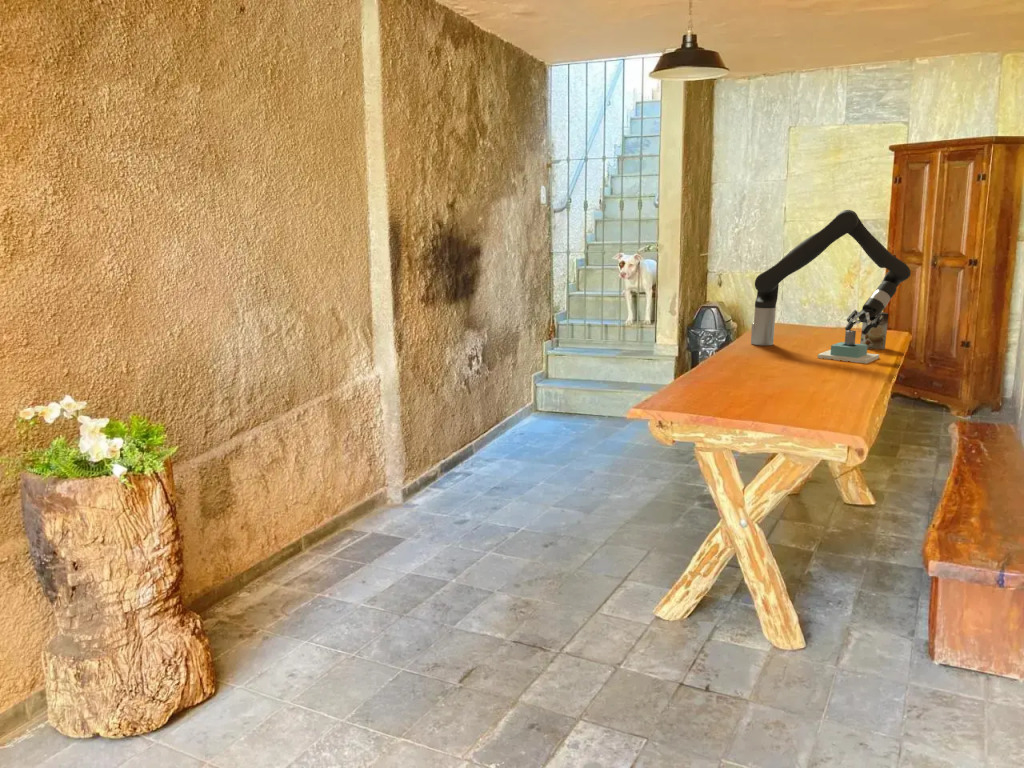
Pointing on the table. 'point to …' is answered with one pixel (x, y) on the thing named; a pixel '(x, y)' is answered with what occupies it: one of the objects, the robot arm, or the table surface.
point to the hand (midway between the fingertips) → (854, 331)
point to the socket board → (859, 360)
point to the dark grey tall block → (850, 338)
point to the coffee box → (876, 334)
